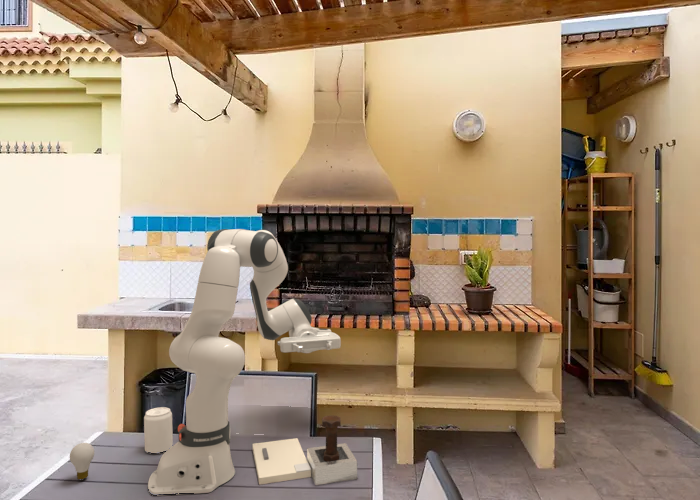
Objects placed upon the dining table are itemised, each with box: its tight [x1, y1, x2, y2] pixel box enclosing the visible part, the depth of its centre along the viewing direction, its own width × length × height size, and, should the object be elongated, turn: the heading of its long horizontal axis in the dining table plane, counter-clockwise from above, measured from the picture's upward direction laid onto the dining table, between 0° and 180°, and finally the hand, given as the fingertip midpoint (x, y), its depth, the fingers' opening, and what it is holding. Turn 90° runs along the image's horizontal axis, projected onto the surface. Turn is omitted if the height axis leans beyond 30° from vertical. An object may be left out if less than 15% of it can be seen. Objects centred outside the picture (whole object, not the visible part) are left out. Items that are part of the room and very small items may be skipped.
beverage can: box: [143, 406, 174, 454], centre depth 149 cm, size 8×8×12 cm
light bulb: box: [69, 442, 95, 480], centre depth 131 cm, size 6×6×10 cm
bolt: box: [321, 415, 342, 462], centre depth 133 cm, size 6×5×15 cm
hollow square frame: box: [306, 442, 358, 486], centre depth 133 cm, size 12×12×5 cm
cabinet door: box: [252, 437, 312, 486], centre depth 140 cm, size 14×22×3 cm, turn 16°
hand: (314, 348), depth 153 cm, fingers open, 8 cm apart
